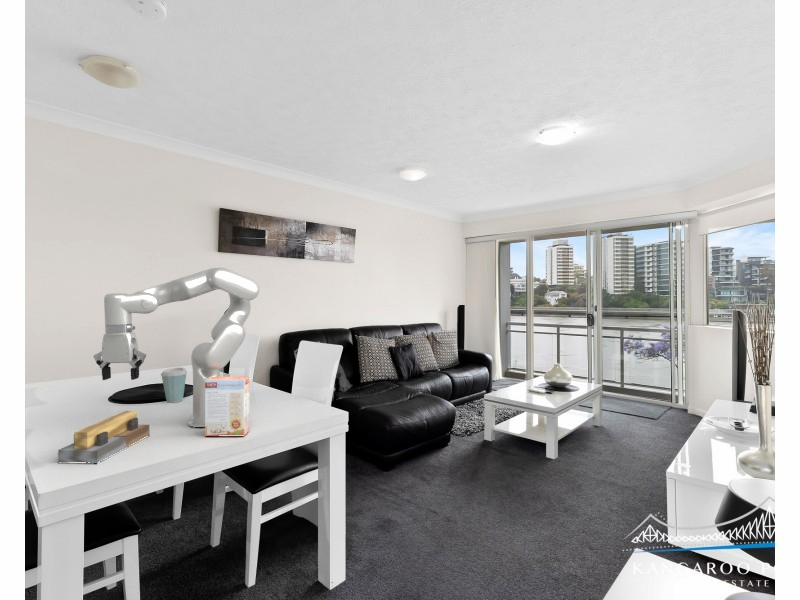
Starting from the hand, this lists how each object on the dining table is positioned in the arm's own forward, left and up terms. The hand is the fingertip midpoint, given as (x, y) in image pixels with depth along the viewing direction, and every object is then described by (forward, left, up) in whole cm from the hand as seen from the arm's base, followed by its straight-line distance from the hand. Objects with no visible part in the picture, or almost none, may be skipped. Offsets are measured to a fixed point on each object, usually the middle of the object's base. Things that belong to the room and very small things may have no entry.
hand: (120, 379), depth 139 cm
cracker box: (-33, -9, -22) cm, 41 cm away
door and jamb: (0, +6, -22) cm, 22 cm away
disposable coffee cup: (+12, -51, -22) cm, 56 cm away
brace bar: (0, +6, -17) cm, 19 cm away
